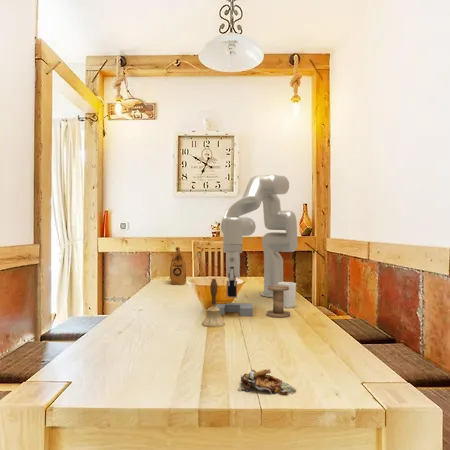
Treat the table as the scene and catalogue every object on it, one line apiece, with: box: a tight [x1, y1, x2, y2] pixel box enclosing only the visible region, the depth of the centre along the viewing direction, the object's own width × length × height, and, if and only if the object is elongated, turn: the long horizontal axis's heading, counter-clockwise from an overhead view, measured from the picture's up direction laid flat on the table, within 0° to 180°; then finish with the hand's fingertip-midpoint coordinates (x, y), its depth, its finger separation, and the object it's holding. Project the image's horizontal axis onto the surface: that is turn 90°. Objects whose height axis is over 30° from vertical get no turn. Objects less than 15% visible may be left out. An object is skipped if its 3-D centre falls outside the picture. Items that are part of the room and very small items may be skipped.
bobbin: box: [266, 285, 291, 319], centre depth 150 cm, size 9×9×11 cm
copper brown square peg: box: [225, 280, 238, 299], centre depth 151 cm, size 4×4×7 cm
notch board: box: [216, 302, 254, 317], centre depth 153 cm, size 16×10×3 cm, turn 87°
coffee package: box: [169, 246, 187, 286], centre depth 232 cm, size 10×12×22 cm
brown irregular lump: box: [237, 368, 297, 396], centre depth 82 cm, size 7×12×4 cm, turn 77°
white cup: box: [278, 281, 297, 309], centre depth 167 cm, size 8×8×10 cm
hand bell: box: [201, 278, 226, 328], centre depth 135 cm, size 8×8×16 cm
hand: (232, 294), depth 151 cm, fingers closed on copper brown square peg, 4 cm apart
